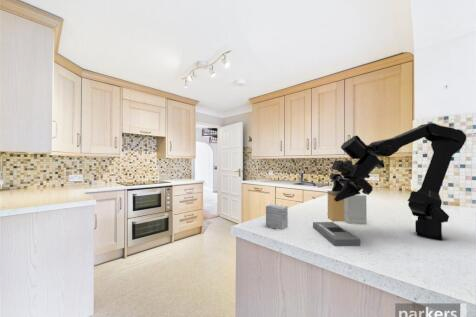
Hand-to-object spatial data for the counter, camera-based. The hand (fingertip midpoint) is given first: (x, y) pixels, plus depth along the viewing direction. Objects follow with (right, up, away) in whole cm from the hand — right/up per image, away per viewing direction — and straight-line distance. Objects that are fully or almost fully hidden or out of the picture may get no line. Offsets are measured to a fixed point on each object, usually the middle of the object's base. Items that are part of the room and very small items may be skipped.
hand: (332, 199), depth 73 cm
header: (+1, -13, 0) cm, 13 cm away
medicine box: (-18, -14, +10) cm, 25 cm away
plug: (+1, -7, 0) cm, 7 cm away
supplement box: (+17, -14, +16) cm, 27 cm away
